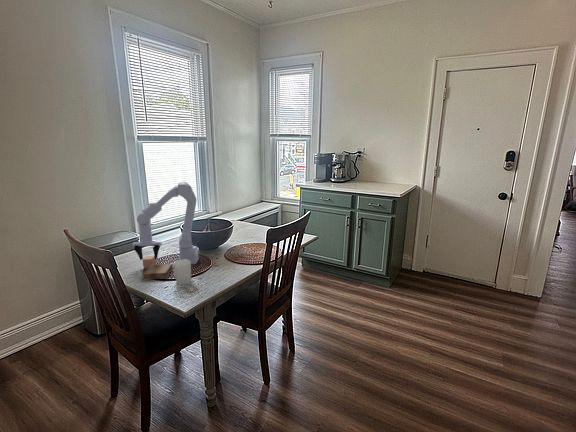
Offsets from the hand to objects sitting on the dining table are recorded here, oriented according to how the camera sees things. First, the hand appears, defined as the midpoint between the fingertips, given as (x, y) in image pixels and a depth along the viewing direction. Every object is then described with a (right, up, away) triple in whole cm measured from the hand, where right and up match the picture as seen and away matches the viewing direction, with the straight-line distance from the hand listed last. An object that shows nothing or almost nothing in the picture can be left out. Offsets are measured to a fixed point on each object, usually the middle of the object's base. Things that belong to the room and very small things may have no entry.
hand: (148, 258), depth 170 cm
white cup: (+25, -9, -18) cm, 32 cm away
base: (+9, -7, -9) cm, 14 cm away
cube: (0, -4, +1) cm, 4 cm away
